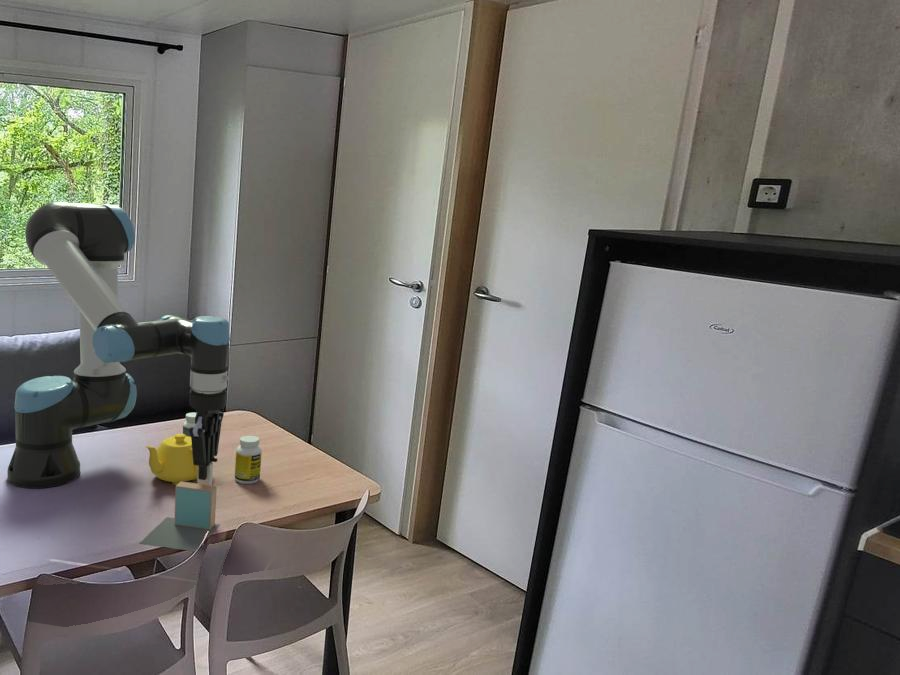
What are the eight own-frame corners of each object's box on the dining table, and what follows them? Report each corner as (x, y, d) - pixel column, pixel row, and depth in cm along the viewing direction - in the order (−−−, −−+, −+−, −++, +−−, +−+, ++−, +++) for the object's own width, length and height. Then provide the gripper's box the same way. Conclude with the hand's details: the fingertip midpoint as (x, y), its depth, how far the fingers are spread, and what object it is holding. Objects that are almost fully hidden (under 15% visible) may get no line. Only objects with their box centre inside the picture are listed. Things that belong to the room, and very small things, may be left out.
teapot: (168, 501, 165) (169, 455, 162) (125, 483, 171) (126, 438, 169) (233, 476, 182) (235, 433, 180) (192, 460, 189) (194, 419, 186)
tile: (174, 524, 154) (175, 486, 152) (179, 519, 156) (180, 481, 154) (210, 530, 153) (211, 491, 151) (214, 524, 156) (216, 486, 154)
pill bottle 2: (252, 486, 177) (255, 444, 175) (230, 482, 178) (232, 440, 176) (264, 477, 183) (266, 436, 181) (242, 473, 184) (244, 432, 182)
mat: (139, 545, 145) (139, 543, 145) (166, 518, 157) (166, 517, 157) (196, 553, 144) (196, 551, 144) (219, 526, 156) (219, 524, 156)
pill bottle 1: (198, 449, 196) (199, 418, 194) (179, 447, 196) (180, 416, 194) (204, 442, 201) (206, 412, 199) (186, 440, 201) (187, 410, 199)
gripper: (213, 399, 146) (208, 505, 151) (236, 383, 159) (231, 481, 164) (178, 395, 147) (174, 501, 152) (204, 378, 159) (200, 477, 164)
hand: (204, 490), depth 158 cm, fingers closed
